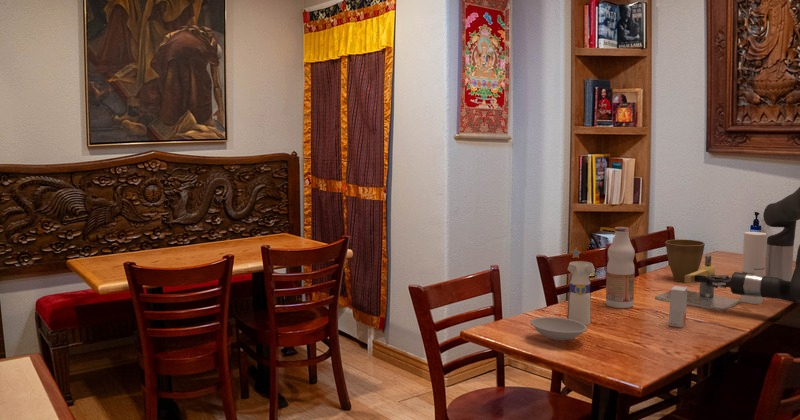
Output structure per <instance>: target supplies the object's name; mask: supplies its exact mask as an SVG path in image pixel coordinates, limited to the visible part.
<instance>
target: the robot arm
mask: <svg viewBox="0 0 800 420" xmlns="http://www.w3.org/2000/svg"><path fill="white" fill-rule="evenodd" d="M762 218H763V221H764V223H765V225H767V226H768V227H772V228H783V229H782V230H781V231H780V232H778V233H775V234H771V235H768V236H767V237H766V253H765V270H764V276H761V275H757V274H749V273H742V272H739V271H735V272H733V273H732V275H731V276H730V275H728V274H715V275H711V276H710V275H708V276H703V275H695V282H697V283H700V282H703V283H706V285H709V286H712V287H714V289H718V288H719V289H727V288H730V292H731V293H732V294H733V295H738V296H741V295H745V296H752V297H763V298H766V299H773V300H774V299H777V300H783V301H787V302H791V303H796V304H800V244H799V245H798V247H797V252H796V253H797V254H796V258H795V259H796V260H795V266H794V265H793V263H794V261H793V260H794V246H795V245H794V244H795V238H796V227H797V221H799V220H800V186H799V187H798V188H797V189H796V190H795V191H794V192H792V193H791V194H789V195H787V196H786V197H784V198H782V199H780V200H779V201H777V202H772V203H769V204H767V205H766V207H765V209H764V211H763V215H762ZM793 266H794V270H793Z"/></svg>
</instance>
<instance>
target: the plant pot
mask: <svg viewBox="0 0 800 420" xmlns="http://www.w3.org/2000/svg"><path fill="white" fill-rule="evenodd" d="M705 244H706V243H705V242H704V241H701V240H695V239H684V238H683V239H669V240H666V241H665V249H666V255H667V260H668V263H669V264H668V265H669V267H670V271H671V274H672V277H673V280H674V281H676V282H679V283H680V282H681V283H685V275H687V274H691V273H694V272H696V271H699V270H700V267H701V263H702V260H703V255H704V251H705Z"/></svg>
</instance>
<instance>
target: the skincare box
mask: <svg viewBox="0 0 800 420" xmlns="http://www.w3.org/2000/svg"><path fill="white" fill-rule="evenodd" d="M670 291H671V293H670V302H669V314H668V315H669V316H668V317H669V318H668V326H670V327H675V328H676V327H677V328H683V327H684V325H686V322H687V321H686V320H687V306H688V305H687V291H688V287H687V286H678V285H674V286H672V288H671V289H670Z"/></svg>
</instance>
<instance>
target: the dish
mask: <svg viewBox="0 0 800 420" xmlns="http://www.w3.org/2000/svg"><path fill="white" fill-rule="evenodd" d="M529 323H530V325H531V326H533V327H534V329H535V330H536V331H537V333H539V334H541V335H542V336H544V337H546V338H548V339H551V340H554V341H556V342H561V341H570V340H573V339H574V340H575V339H576V338H577V337H579V336H581V335H582V334H583V333H584V332H586V331H587V330H588V326H587V325H585V324H583V323H581V322H578V321H575V320H571V319H567V318H564V317H563V318H562V317H555V316H540V317H536V318H532V319H531V320H530V321H529Z"/></svg>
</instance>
